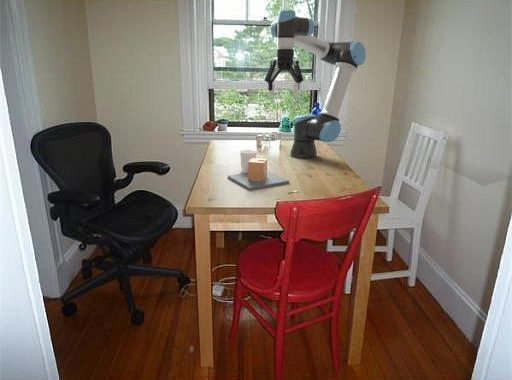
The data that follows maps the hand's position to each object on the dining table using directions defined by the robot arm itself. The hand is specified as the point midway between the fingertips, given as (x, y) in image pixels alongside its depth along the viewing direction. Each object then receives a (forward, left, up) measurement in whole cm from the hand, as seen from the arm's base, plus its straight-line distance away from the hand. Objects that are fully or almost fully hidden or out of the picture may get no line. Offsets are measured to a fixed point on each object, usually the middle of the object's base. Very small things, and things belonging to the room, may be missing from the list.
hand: (283, 97), depth 168 cm
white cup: (+16, -5, -35) cm, 39 cm away
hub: (+20, +10, -35) cm, 41 cm away
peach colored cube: (+20, +10, -33) cm, 40 cm away
